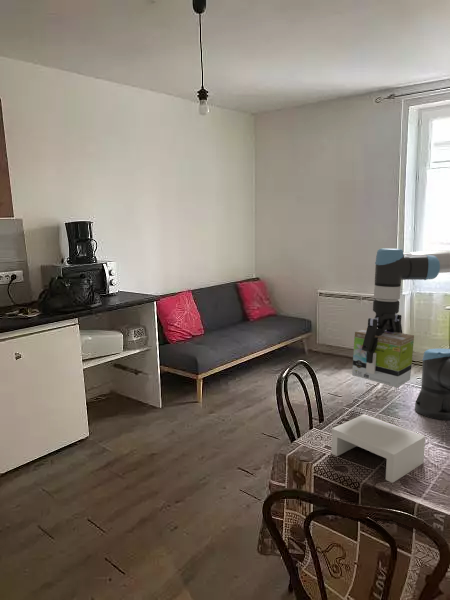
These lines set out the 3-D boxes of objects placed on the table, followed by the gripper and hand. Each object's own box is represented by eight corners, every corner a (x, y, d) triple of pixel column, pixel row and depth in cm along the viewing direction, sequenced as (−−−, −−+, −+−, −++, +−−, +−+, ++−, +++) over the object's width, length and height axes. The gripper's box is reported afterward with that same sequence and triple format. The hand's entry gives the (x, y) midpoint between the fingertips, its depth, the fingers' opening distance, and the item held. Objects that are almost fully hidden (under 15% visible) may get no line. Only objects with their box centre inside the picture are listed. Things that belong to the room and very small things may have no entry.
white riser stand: (363, 437, 144) (364, 414, 142) (423, 462, 128) (425, 436, 127) (331, 453, 134) (331, 428, 132) (392, 482, 118) (393, 454, 117)
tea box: (350, 376, 142) (353, 330, 140) (366, 369, 149) (368, 326, 147) (397, 388, 132) (401, 339, 130) (411, 380, 139) (415, 334, 137)
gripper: (397, 295, 146) (392, 360, 150) (352, 301, 133) (347, 373, 136) (419, 298, 140) (413, 366, 144) (373, 304, 127) (368, 379, 130)
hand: (381, 369), depth 140 cm, fingers closed on tea box, 11 cm apart
